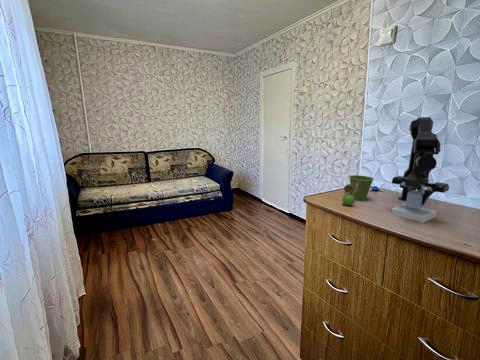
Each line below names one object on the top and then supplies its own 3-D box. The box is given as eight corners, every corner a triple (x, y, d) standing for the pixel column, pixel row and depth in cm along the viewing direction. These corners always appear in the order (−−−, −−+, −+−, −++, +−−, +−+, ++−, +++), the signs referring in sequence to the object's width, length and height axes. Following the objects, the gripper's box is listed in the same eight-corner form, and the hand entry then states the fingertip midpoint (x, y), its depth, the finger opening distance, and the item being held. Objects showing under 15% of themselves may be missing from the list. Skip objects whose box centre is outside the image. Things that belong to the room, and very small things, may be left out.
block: (410, 203, 107) (413, 190, 106) (424, 206, 103) (426, 193, 102) (405, 205, 104) (407, 192, 103) (419, 208, 100) (421, 194, 99)
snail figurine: (357, 207, 114) (360, 182, 111) (343, 206, 115) (345, 181, 113) (354, 203, 119) (357, 180, 116) (340, 203, 120) (343, 179, 118)
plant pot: (344, 199, 127) (347, 178, 124) (348, 194, 137) (350, 174, 134) (370, 203, 121) (373, 181, 118) (372, 197, 130) (374, 176, 128)
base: (404, 208, 113) (405, 203, 112) (435, 216, 103) (436, 211, 102) (391, 213, 106) (392, 208, 106) (423, 222, 96) (424, 216, 96)
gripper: (388, 165, 103) (383, 200, 107) (442, 172, 88) (434, 213, 92) (400, 163, 109) (395, 196, 113) (453, 169, 94) (445, 208, 98)
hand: (415, 203), depth 103 cm, fingers closed on block, 5 cm apart
